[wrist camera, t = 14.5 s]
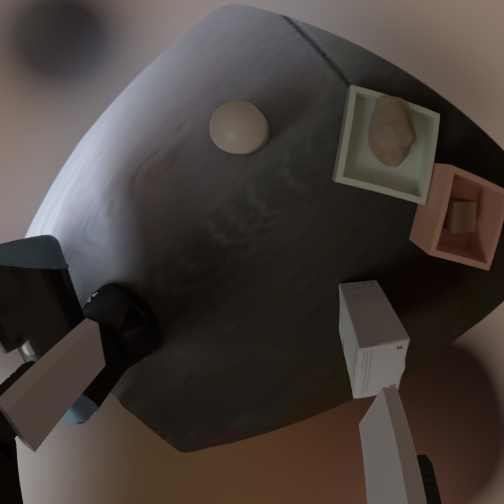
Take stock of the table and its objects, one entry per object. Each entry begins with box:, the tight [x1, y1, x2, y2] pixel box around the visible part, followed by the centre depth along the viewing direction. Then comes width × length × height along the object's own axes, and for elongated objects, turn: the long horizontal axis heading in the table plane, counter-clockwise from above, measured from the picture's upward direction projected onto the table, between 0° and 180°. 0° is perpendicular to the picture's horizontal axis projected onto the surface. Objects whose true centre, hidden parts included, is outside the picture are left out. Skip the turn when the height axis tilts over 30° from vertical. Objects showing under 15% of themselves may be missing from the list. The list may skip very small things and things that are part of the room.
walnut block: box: [442, 198, 476, 233], centre depth 31 cm, size 4×4×4 cm
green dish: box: [332, 85, 440, 205], centre depth 31 cm, size 12×12×3 cm
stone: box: [368, 96, 417, 167], centre depth 29 cm, size 7×6×8 cm
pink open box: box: [409, 163, 504, 271], centre depth 30 cm, size 11×11×7 cm
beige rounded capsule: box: [209, 100, 270, 155], centre depth 32 cm, size 6×6×7 cm
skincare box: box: [339, 280, 410, 398], centre depth 33 cm, size 8×6×15 cm
